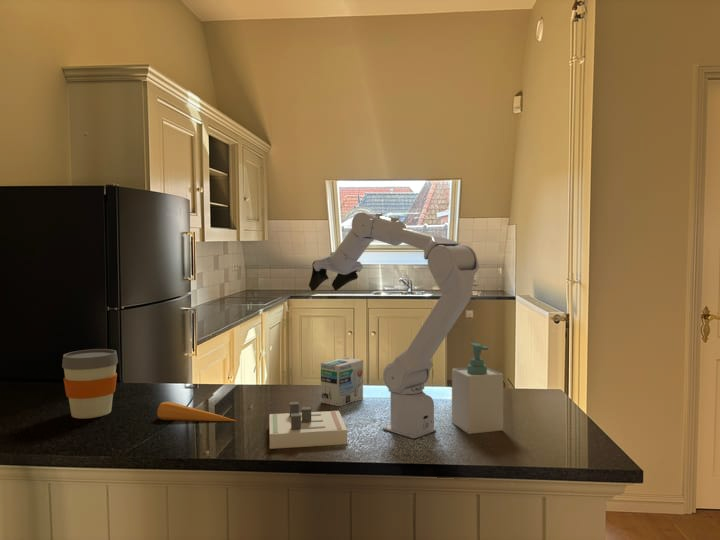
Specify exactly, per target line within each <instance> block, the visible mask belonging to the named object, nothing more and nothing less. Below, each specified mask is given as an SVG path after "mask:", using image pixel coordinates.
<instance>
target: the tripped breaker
mask: <svg viewBox="0 0 720 540" xmlns="http://www.w3.org/2000/svg"><path fill="white" fill-rule="evenodd" d="M311 412H312V408H311V406H301V413H302V422H304V421H311Z"/></svg>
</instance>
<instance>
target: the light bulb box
mask: <svg viewBox="0 0 720 540" xmlns="http://www.w3.org/2000/svg"><path fill="white" fill-rule="evenodd" d="M360 399H361V400H363V399H364V360H363V359H357V358H351V357H347V356H346V357H344V356H343V357H341V358H337V359H333V360H328V361H324V362H320V403H321V402H322V404H325V403H326V404H325V405H329V404H330V406H334V405H335V407H338V406H340V407H342V406H345V405H349V404H351V402H352V403H354V401H355V402H358V401H360ZM357 400H358V401H357ZM348 403H349V404H348Z"/></svg>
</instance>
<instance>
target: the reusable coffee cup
mask: <svg viewBox="0 0 720 540" xmlns="http://www.w3.org/2000/svg"><path fill="white" fill-rule="evenodd" d="M118 358H119V357H118V353H117V350H115V349H107V348H94V349H93V348H92V349H83V350H76V351H70V352H67V353H64V354H63V356H62V363H61V368H63V371H64V372H63V373H64V377H63V384H64V390H65V395H66V396H65V397H66V398H68V402H69V409H70V413H71V414H70V415H71V417H72V418H75V419H93V418H99V417H103V416H106V415H108V414H110V413H111V412H112V407H113V397H114V393H115V392H116V386H117V377H118V373H117V371H116V370H117V364H119V359H118Z"/></svg>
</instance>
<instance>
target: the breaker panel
mask: <svg viewBox="0 0 720 540" xmlns="http://www.w3.org/2000/svg"><path fill="white" fill-rule="evenodd" d="M288 407H289V410H288V411H289V413H288V412H287V413H286V412H285V413H270V414H269V416H268V417H269V424H268V425H269V450H271V449H273V450H274V449H289V448H305V447H323V446H324V447H325V446H336V445H337V446H339V445H341V446H342V445H348V428H347V427H346V424H345V422H344V419H343V416H342V415H341V412H340V410H330V411H327V410H325V411H311V421H304V422H302V412H300V403H299V401H289V406H288Z"/></svg>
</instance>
